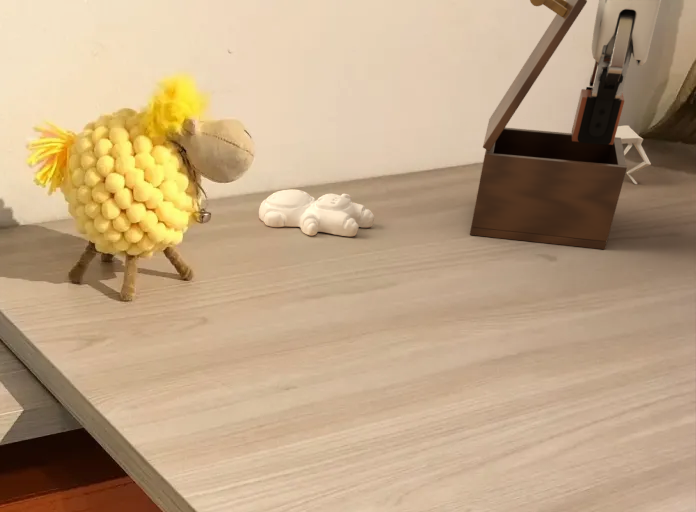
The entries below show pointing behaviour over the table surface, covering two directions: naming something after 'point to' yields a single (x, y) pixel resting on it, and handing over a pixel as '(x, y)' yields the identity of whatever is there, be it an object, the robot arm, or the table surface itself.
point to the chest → (549, 189)
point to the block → (580, 111)
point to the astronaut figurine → (315, 213)
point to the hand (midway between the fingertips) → (593, 135)
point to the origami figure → (631, 137)
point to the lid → (533, 64)
